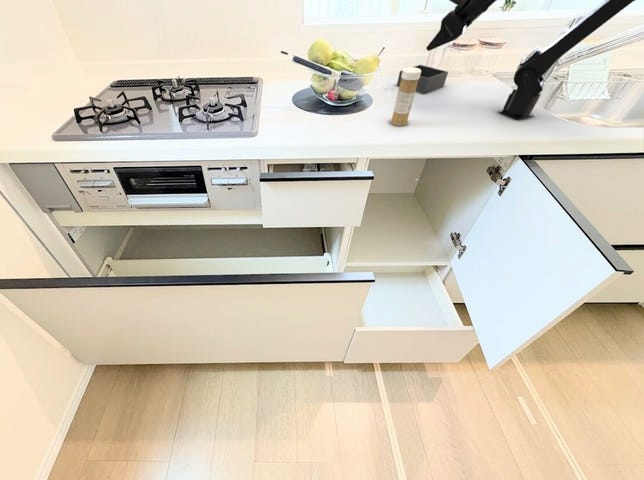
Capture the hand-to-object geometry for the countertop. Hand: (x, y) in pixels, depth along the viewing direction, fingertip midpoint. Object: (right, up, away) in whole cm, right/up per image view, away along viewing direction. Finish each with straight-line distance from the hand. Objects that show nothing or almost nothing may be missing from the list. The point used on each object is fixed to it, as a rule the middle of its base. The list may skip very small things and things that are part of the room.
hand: (431, 45), depth 95 cm
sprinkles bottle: (-10, -24, -2) cm, 26 cm away
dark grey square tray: (+5, -1, +18) cm, 19 cm away
